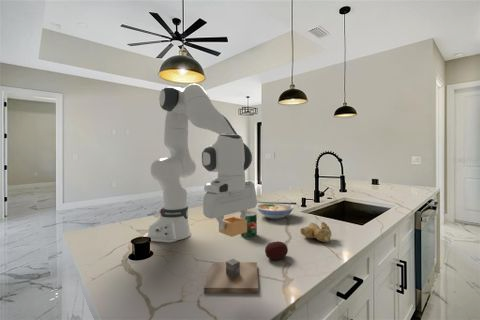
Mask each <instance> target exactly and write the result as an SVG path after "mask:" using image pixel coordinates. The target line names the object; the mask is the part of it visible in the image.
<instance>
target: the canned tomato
mask: <svg viewBox="0 0 480 320" xmlns="http://www.w3.org/2000/svg"><path fill="white" fill-rule="evenodd" d="M257 217H258V216H257V212H255V211H249V210H247V214H246V217H245V219H246V220H247V232H245V233H242V234H240V237H241V238H243V239H249V240H250V239H255V238H257V236H258V235H257V233H258V229H257V228H258V222H257V219H258V218H257Z"/></svg>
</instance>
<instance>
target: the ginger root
mask: <svg viewBox="0 0 480 320" xmlns="http://www.w3.org/2000/svg"><path fill="white" fill-rule="evenodd" d="M299 232H300V234H301V235H302V236H304V237H305V238H307V239H316V240H317V241H320V242H323V243H328V242H329V241H330V239H331V237H332V235H333V234H332V230H331V229H330V227H329V225H328V224H327V223H326V222H324V221H321V222H320V226H318V224H317V223H314V222H310V224H308V226H306V227H304V226H303V227H301V228H300V231H299Z"/></svg>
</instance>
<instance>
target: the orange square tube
mask: <svg viewBox="0 0 480 320" xmlns="http://www.w3.org/2000/svg"><path fill="white" fill-rule="evenodd" d="M222 220H223V222H224V223H226V224H227V226H226V227H227V228H226V229H224V230H221V229H220V224H219V223H218V232H219V233H221V234H223V235H225V236H229V237H231V238H232V237H235V236H238V235H241V234H242V233H245V232H247V220H246V219H243V218H240V216H235V215H232V216H228V217H224V219H222Z"/></svg>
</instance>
